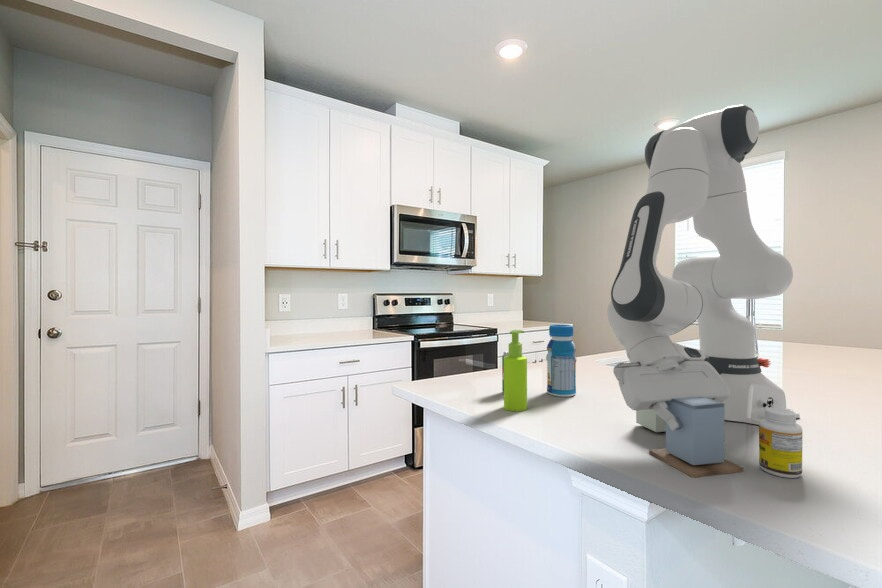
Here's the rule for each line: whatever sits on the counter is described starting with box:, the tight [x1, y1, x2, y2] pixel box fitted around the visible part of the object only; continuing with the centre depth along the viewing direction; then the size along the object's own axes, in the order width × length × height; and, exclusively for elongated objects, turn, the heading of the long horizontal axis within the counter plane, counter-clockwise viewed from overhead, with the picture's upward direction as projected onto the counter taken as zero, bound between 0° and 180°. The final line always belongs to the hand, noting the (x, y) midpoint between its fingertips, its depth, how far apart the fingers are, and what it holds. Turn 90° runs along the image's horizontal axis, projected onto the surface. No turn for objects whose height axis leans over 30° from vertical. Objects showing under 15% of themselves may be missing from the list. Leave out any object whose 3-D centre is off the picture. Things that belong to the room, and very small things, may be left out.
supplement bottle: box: [758, 408, 803, 479], centre depth 68 cm, size 6×6×10 cm
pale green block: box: [635, 409, 666, 433], centre depth 89 cm, size 6×6×10 cm
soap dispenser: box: [503, 329, 528, 412], centre depth 106 cm, size 6×7×20 cm
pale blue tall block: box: [665, 397, 725, 465], centre depth 72 cm, size 6×6×10 cm
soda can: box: [501, 351, 509, 394], centre depth 120 cm, size 5×5×12 cm
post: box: [648, 447, 744, 478], centre depth 72 cm, size 10×10×9 cm
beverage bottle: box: [545, 324, 577, 398], centre depth 119 cm, size 8×8×20 cm
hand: (696, 427), depth 72 cm, fingers closed on pale blue tall block, 6 cm apart
